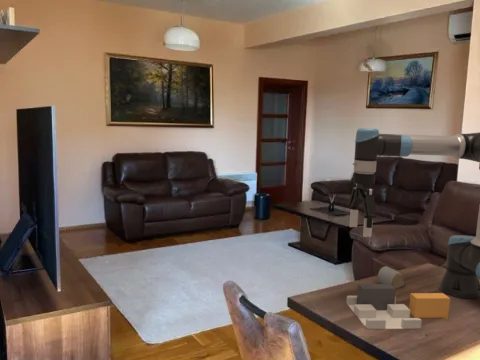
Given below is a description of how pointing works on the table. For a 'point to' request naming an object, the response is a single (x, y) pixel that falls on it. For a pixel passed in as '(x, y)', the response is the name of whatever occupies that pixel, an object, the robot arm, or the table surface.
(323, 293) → the table surface
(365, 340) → the table surface
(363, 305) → the rack
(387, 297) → the dark gray brick
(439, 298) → the tall orange brick
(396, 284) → the ceramic mug
